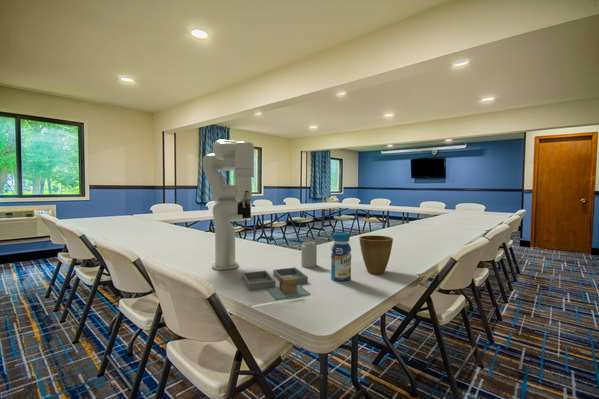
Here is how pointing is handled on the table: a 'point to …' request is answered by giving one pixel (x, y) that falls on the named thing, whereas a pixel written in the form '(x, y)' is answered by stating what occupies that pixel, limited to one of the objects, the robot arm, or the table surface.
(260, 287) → the bin
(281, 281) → the letter cube
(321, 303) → the table surface
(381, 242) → the plant pot
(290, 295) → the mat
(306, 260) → the can
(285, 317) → the table surface
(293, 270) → the bin
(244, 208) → the robot arm
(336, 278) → the beverage bottle
